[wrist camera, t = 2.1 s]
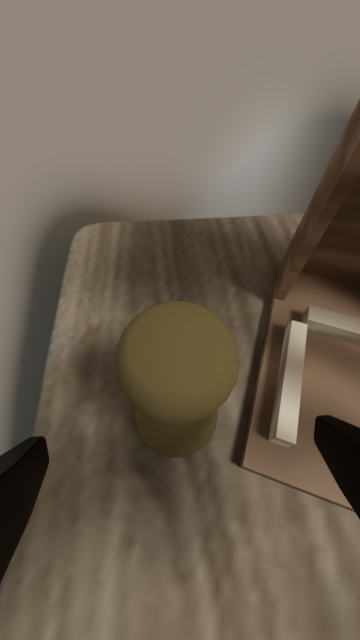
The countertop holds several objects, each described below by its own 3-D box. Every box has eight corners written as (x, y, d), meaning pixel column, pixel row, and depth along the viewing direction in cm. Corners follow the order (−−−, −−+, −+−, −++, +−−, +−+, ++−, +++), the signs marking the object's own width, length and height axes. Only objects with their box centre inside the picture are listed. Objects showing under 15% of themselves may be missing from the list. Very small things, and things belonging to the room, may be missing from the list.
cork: (119, 434, 18) (60, 381, 9) (156, 360, 21) (142, 262, 12) (200, 474, 17) (232, 461, 8) (228, 389, 20) (275, 306, 11)
